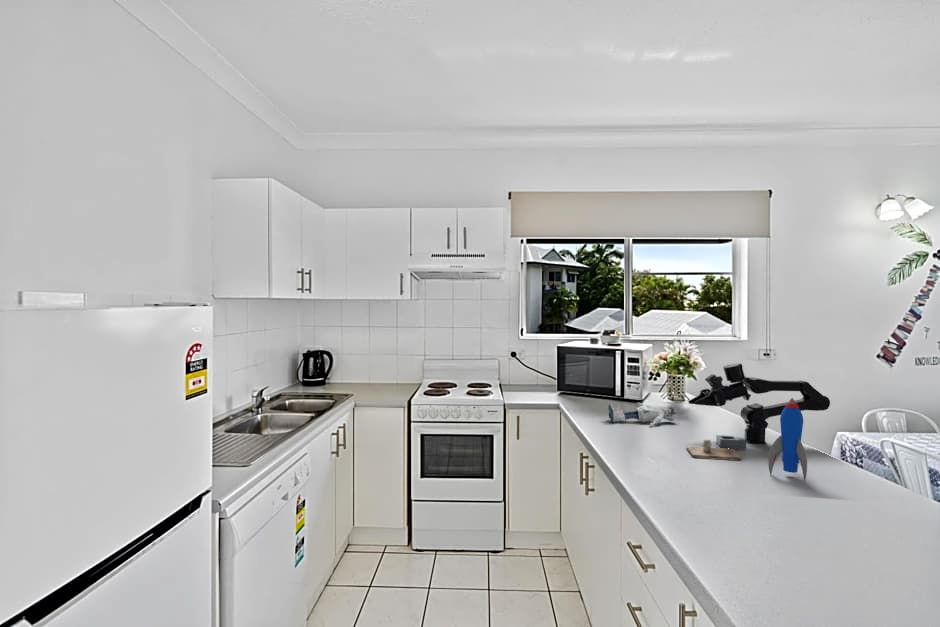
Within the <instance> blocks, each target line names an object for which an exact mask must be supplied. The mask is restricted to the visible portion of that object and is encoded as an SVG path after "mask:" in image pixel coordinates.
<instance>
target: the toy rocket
mask: <svg viewBox="0 0 940 627" xmlns="http://www.w3.org/2000/svg"><path fill="white" fill-rule="evenodd" d="M787 402H788V403H787V405H786V406H785V408H784V409H783V411H782V413H781V415H779V416H780V418H779V422H780V435H779V436H778V437H777V438H776V439H775V441H774V442H773V443H772V446H771V447H770V449H769V453H768V461H767V462H768V463H767V464H768V469H769V470H768V471H769V475H772V474H773V473H772V472H773V469H774V465H775V463H776V461H777V458H778V456H779V455H780V454H781V453H782V454H781V461H782V466H783V467H782V468H783V469H782V470H783V471H784V472H786V473H798V467H799V464H800V466H801V469H802V470H801V471H802V476H803V481H804V482H806V478H807V475H808V474H807V472H808V460H807V454H806V450H805V447H804V446H803V443H802V434H803V427H804V417H803V413H802V411H800V409H799V407H798V405H797V404H796V402H795V399H794V398H793V397H791V398H790V400H789V401H787Z"/></svg>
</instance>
